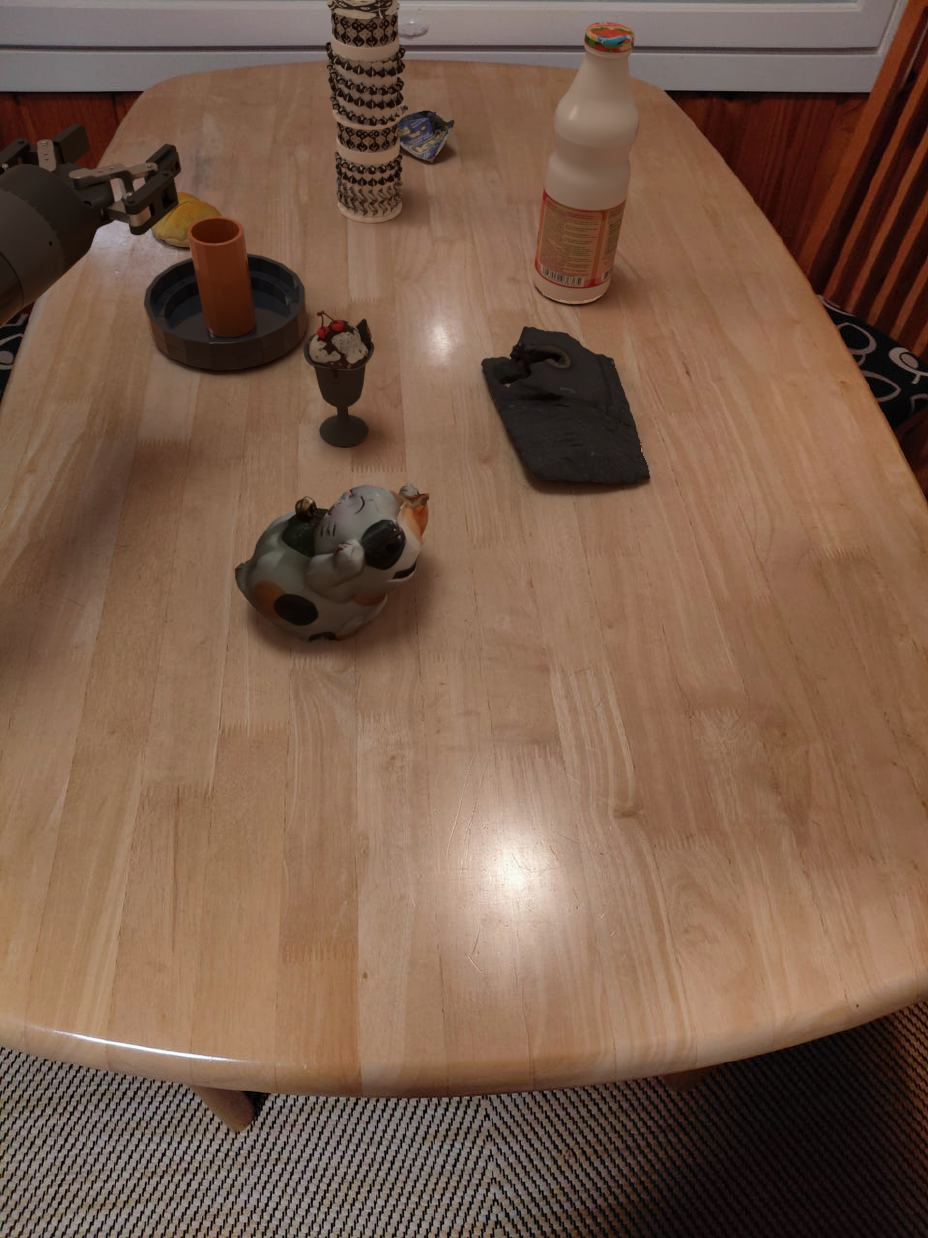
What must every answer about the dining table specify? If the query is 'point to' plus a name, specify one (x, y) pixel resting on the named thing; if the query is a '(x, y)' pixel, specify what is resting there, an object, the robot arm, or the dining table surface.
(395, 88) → the cream patterned cylinder
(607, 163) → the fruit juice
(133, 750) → the dining table surface
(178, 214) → the bread roll
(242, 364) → the bowl
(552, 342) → the dark slate chunk
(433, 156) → the snack package
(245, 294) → the tumbler
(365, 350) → the sundae
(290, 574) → the lucky cat figurine
